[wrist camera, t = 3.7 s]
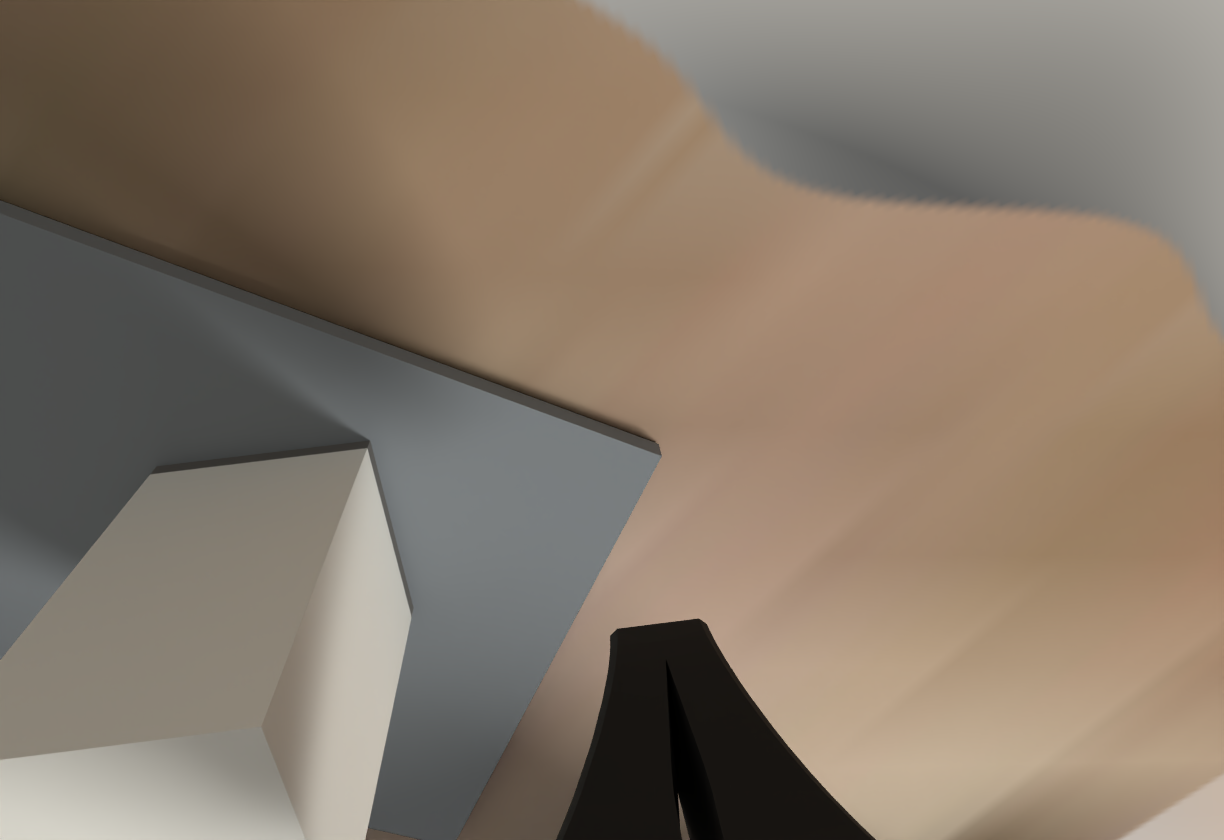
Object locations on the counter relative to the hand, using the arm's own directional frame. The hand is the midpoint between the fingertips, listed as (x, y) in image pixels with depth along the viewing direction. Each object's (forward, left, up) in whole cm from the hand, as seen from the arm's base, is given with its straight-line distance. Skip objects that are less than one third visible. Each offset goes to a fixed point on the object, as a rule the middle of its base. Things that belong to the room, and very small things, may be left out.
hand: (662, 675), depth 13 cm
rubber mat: (+8, +5, -5) cm, 11 cm away
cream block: (+6, +3, -5) cm, 8 cm away
